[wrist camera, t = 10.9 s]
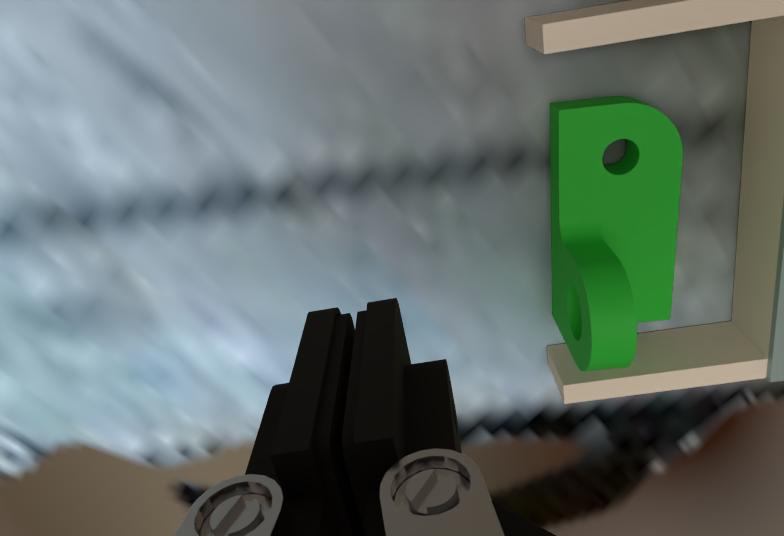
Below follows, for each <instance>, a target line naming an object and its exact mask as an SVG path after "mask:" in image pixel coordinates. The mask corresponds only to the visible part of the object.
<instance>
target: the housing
mask: <svg viewBox="0 0 784 536" xmlns="http://www.w3.org/2000/svg"><path fill="white" fill-rule="evenodd" d="M524 19H525V34H526V45H528V46H530V47H532V48H534V49H535V50H537V51H539V52H541V53H543V54H550V53H556V52H562V51H568V50H575V49H581V48H587V47H593V46H599V45H605V44H611V43H618V42H624V41H630V40H636V39H642V38H648V37H654V36H661V35H667V34H673V33H679V32H685V31H691V30H697V29H704V28H710V27H716V26H722V25H728V24H734V23H741V22H747V21H752V24H751V39H750V53H749V68H748V83H747V98H746V113H745V127H744V142H743V157H742V172H741V187H740V201H739V216H738V231H737V246H736V260H735V275H734V290H733V305H732V320H731V321H728V322H720V323H713V324H705V325H698V326H691V327H683V328H676V329H668V330H661V331H654V332H646V333H639V334H637V344H636V351H635V356H634V359H633V361H632V363H631V365H630V366H628V367H626V368H615V369H605V370H594V371H581V370H580V369H579V368H578V367H577V365H576V363H575V361H574V359H573V357H572V355H571V353H570V351H569V349H568V347H567V345H566V343H565V344H557V345H550V346H547V356H548V364H549V367H550V369H551V372H552V374H553V377H554V379H555V382H556V384H557V387H558V389H559V392H560V394H561V397H562V399H563V402H564V404H568V403H575V402H583V401H591V400H599V399H606V398H614V397H622V396H629V395H637V394H645V393H653V392H660V391H668V390H676V389H684V388H691V387H699V386H707V385H715V384H722V383H730V382H738V381H745V380H753V379H761V378H767V379H768V380H769V382H775V381H783V380H784V0H629V1H623V2H617V3H611V4H605V5H599V6H593V7H587V8H581V9H575V10H569V11H563V12H557V13H551V14H545V15H539V16H533V17H527V18H524Z"/></svg>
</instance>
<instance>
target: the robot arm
mask: <svg viewBox="0 0 784 536" xmlns="http://www.w3.org/2000/svg"><path fill="white" fill-rule="evenodd" d="M174 536H556V535H554V534H552V533H550V532H548V531H547V530H545V529H543V528H541V527H539V526H537V525H536V524H534V523H532V522H530V521H528V520H527V519H525V518H523V517H521V516H519V515H517V514H516V513H514V512H512V511H510V510H508V509H506V508H505V507H503V506H501V505H499V504H497V503H496V502H494V501H492V500H491V498H490V496H489V493H488V490H487V488H486V485H485V482H484V480H483V477H482V474H481V472H480V470H479V469H478V467H477V466H476V464H475V462H474V461H472V460H471V459H470V458H468V457H467V456H466V455H464V454H462V453H461V445H460V437H459V430H458V423H457V416H456V410H455V404H454V398H453V392H452V387H451V381H450V376H449V371H448V365H447V361H446V359H444V360H437V361H430V362H424V363H417V364H411V361H410V356H409V351H408V347H407V342H406V337H405V332H404V327H403V323H402V318H401V313H400V308H399V304H398V301H397V298H393V299H387V300H381V301H375V302H369V303H368V304H367V310H366V311H360V312H358V313H357V320H356V328H354V324H353V320H352V317H351V314H350V313H347V314H341V313H340V310H339V309H338V307H337V308H331V309H325V310H319V311H313V312H309V313H308V315H307V319H306V322H305V326H304V330H303V334H302V337H301V341H300V345H299V348H298V352H297V356H296V360H295V363H294V367H293V371H292V375H291V378H290V382H289V383H285V384H278V385H275V386H273V387H272V390H271V392H270V395H269V398H268V401H267V405H266V408H265V411H264V414H263V418H262V421H261V424H260V428H259V431H258V434H257V437H256V441H255V444H254V447H253V450H252V454H251V457H250V460H249V463H248V467H247V470H246V473H245V475H241V476H236V477H233V478H230V479H228V480H225V481H222V482H220V483H219V484H217V485H215V486H214V487H212V488H210V489H208V490H207V491H206V492H205V493H204V494H203V495H202V496H200V497H199V498H198V499H197V500H196V501H195V503H194V504H193V505H192V507H191V508H190V509H189V511H188V512H187V514H186V516H185V518H184V519H183V521H182V523H181V525H180V527H179V528H178V530H177V532H176V534H175V535H174Z"/></svg>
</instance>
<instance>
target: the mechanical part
mask: <svg viewBox="0 0 784 536" xmlns="http://www.w3.org/2000/svg"><path fill="white" fill-rule="evenodd" d="M619 139H626V141H627V150H626V153H625V155H624V156H623V158H622V159H621V160H620V161H618V162H617V163H615V164H611V165H603V162H602V157H603V153H604V151H605V149H606V148H607V146H608V145H609V144H611V143H612V142H614V141H616V140H619ZM550 143H551V257H552V315H553V317H554V319H555V322H556V324H557V326H558V328H559V330H560V332H561V334H562V336H563V338H564V340H565V342H566V345H567V347H568V349H569V351H570V353H571V355H572V357H573V359H574V361H575V363H576V365H577V367H578V368H579V369H580V370H581V371H594V370H605V369H615V368H626V367H628V366H630V365H631V363H632V361H633V359H634V356H635V351H636V344H637V322H647V321H657V320H667V319H670V316H671V303H672V290H673V277H674V264H675V251H676V238H677V225H678V212H679V199H680V186H681V174H682V161H683V149H682V142H681V138H680V135H679V133H678V131H677V129H676V127H675V126H674V124H673V123H672V122H671V120H670V119H669V118H668V117H667V116H666V115H664V114H663V113H662V112H660V111H659V110H657V109H655V108H653V107H651V106H649V105H647V104H645V103H644V102H642V101H639V100H637V99H634V98H630V97H624V96H611V97H602V98H593V99H584V100H575V101H566V102H557V103H550Z"/></svg>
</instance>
